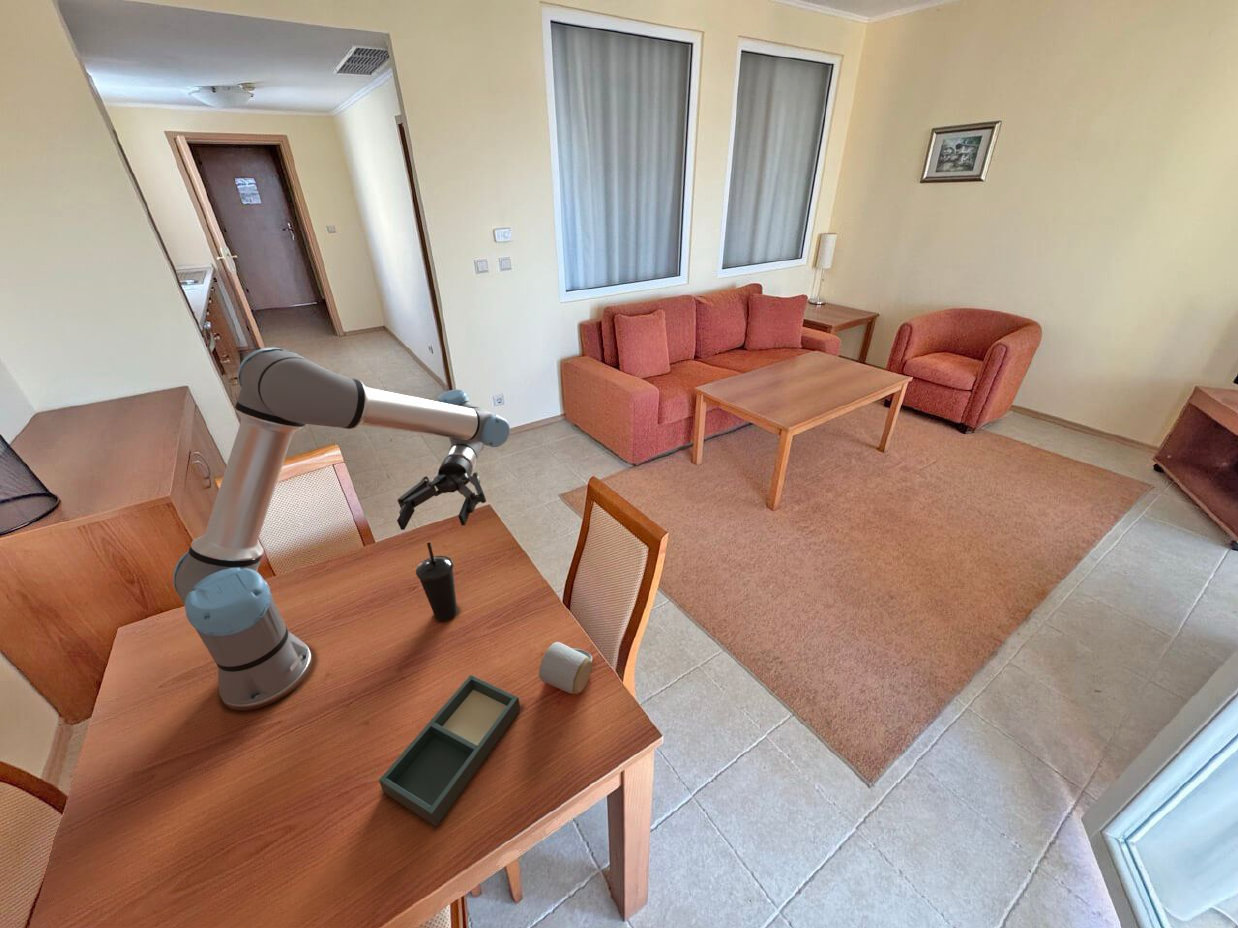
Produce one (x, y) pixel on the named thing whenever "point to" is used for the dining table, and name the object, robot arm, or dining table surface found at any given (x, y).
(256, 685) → the robot arm
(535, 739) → the dining table surface
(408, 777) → the divided tray
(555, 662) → the ceramic mug
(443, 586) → the drinking cup
